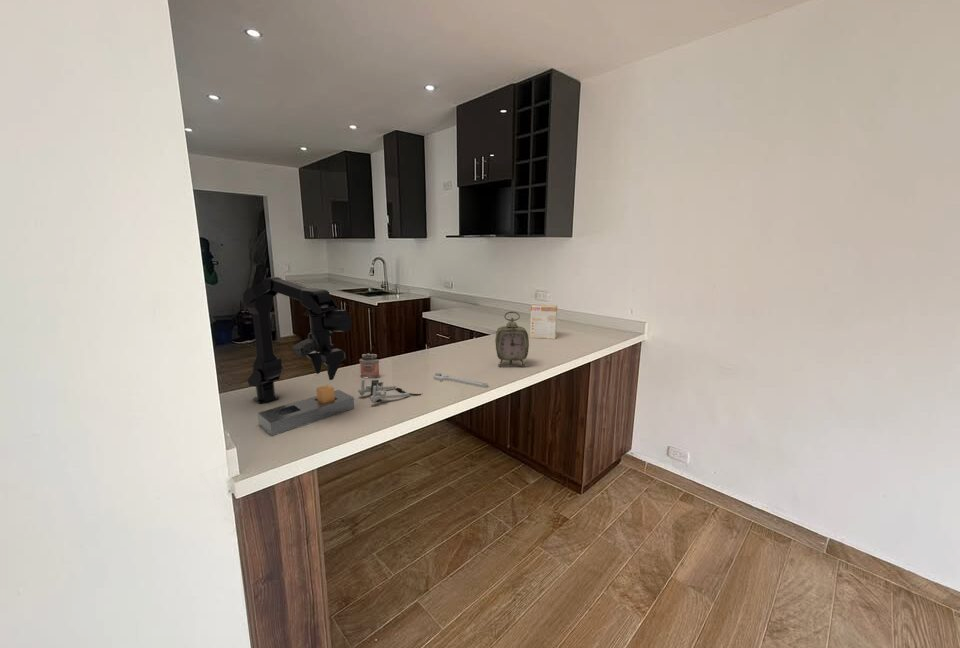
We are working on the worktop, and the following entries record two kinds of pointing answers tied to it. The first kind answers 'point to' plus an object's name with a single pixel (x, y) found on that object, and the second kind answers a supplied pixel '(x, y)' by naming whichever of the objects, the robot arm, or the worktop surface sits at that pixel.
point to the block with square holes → (303, 412)
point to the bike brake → (381, 391)
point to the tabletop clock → (512, 342)
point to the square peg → (325, 394)
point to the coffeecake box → (543, 321)
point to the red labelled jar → (369, 366)
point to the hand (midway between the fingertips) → (324, 376)
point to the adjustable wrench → (459, 380)
